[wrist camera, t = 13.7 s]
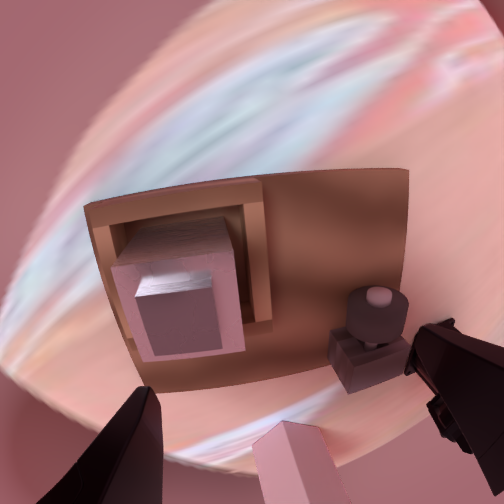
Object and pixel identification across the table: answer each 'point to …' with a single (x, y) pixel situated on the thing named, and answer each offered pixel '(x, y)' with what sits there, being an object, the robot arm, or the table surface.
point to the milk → (297, 467)
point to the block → (181, 290)
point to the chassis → (278, 269)
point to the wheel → (376, 315)
